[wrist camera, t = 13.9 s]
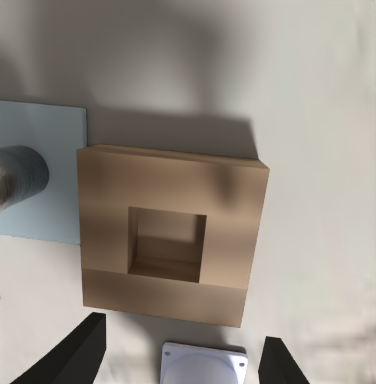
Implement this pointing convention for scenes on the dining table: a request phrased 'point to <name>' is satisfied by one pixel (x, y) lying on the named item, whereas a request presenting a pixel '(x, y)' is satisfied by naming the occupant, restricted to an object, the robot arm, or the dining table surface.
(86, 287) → the block
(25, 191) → the steel key peg
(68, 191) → the rubber mat
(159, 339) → the dining table surface
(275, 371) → the robot arm
